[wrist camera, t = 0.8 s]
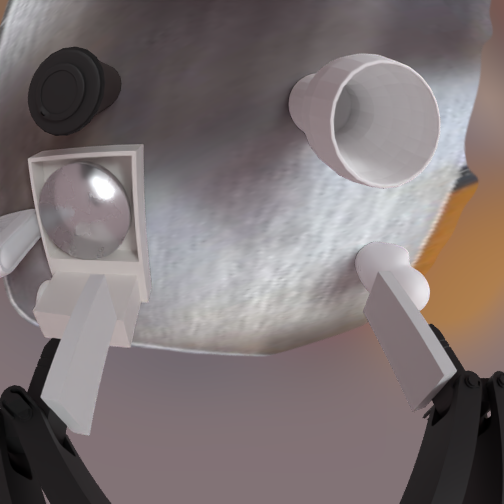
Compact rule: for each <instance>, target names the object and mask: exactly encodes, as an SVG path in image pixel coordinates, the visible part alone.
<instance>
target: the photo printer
mask: <svg viewBox="0 0 504 504" xmlns="http://www.w3.org/2000/svg"><path fill="white" fill-rule="evenodd" d="M40 237H41V233H40V228H39V224H38V219H37V215H36V209H28V210H23V211H18V212H14V213H10V214H7V215H4V216H1V217H0V278H1V277H4V276H6V275H8V274H10V273H11V272H12V271H13V270H14V269H15V268H16V267H17V265H18V264H19V263H20V261H21V260H22V259H23V258H24V257H25V255H26V254H27V253H28V252H29V251H30V249H31V248H32V247H33V246H34V245H35V243H36V242H37V241H38V240H39V239H40Z"/></svg>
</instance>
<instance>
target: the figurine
mask: <svg viewBox="0 0 504 504" xmlns="http://www.w3.org/2000/svg"><path fill="white" fill-rule="evenodd" d="M355 267H356V271H357V274H358V276H359V278H360V280H361V282H362V284H363V285H364V287H365V288H366V289H367V290H368V292H369V293H370V292H371V289H372V287H373V284H374V281H375V278H376V276H377V273H378V271H391V273H392V274H393V275H394V277H395V278H396V279H397V281H398V282H399V283H400V285H401V286H402V288H403V289H404V290H405V292H406V293H407V294H408V296H409V297H410V299H411V300H412V302H413V303H414V304H415V306H416V307H417V309H418V310H419V311H420V310H421V309H423V308H424V306H425V305H426V304H427V302H428V299H429V294H430V289H429V285H428V283H427V280H426V279H425V277H424V276H423V275H422V274H421V273H420V272H419V271H417V270H415V269H414V268H412V267H411V266H410V263H409V253H408V251H407V249H405V248H404V247H402V246H399V245H396V244H392V243H383V242H378V241H376V242H371V243H369V244H367V245H365V246H364V247H363V248H362V249H361V250H360V251H359V252H358V254H357V256H356V259H355Z"/></svg>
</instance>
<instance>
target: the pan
mask: <svg viewBox="0 0 504 504" xmlns="http://www.w3.org/2000/svg"><path fill="white" fill-rule="evenodd" d="M39 211H40V217H41V221H42V224H43V226H44V228H45V230H46V232H47V234H48V235H49V237H50V238H51V239H52V241H53V242H54V243H55V244H56V245H57V246H58V247H59V248H61V249H62V250H63V251H65V252H66V253H68V254H70V255H72V256H75V257H77V258H82V259H100V258H103V257H106V256H108V255H110V254H111V253H113V252H114V251H115V250H117V249H118V248H119V246H120V245H121V244H122V242H123V241H124V239H125V237H126V235H127V233H128V230H129V227H130V224H131V205H130V201H129V197H128V195H127V192H126V190H125V188H124V187H123V185H122V184H121V182H120V181H119V179H118V178H117V177H116V176H115V175H114V174H113V173H112V172H110V171H109V170H108V169H106V168H105V167H103V166H101V165H99V164H96V163H93V162H88V161H76V162H71V163H68V164H66V165H64V166H62V167H61V168H59V169H58V170H56V171H55V172H53V173H52V174H51V175H50V176H49V178H48V179H47V180H46V182H45V184H44V185H43V188H42V190H41V194H40V199H39Z"/></svg>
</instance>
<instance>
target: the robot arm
mask: <svg viewBox="0 0 504 504" xmlns="http://www.w3.org/2000/svg"><path fill="white" fill-rule="evenodd" d="M363 312H364V314H365V316H366V318H367V320H368V322H369V323H370V325H371V327H372V329H373V331H374V333H375V335H376V337H377V339H378V341H379V343H380V345H381V347H382V349H383V351H384V353H385V355H386V357H387V359H388V361H389V363H390V365H391V367H392V369H393V371H394V373H395V375H396V377H397V379H398V382H399V384H400V386H401V388H402V390H403V392H404V394H405V396H406V399H407V401H408V403H409V405H410V407H411V410H412V411H416V410H419V409H422V408H424V407H426V406H427V404H429V402H430V401H431V400H432V401H433V403H434V405H433V406H432V407H431V408H430V409H429V410H428V411H427V412H426V413H425V414H424V416H423V418H426V417H427V416H428V415H429V414H430V415H429V418H428V423H427V427H426V431H425V434H424V437H423V441H422V444H421V447H420V451H419V454H418V457H417V460H416V463H415V466H414V468H413V471H412V474H411V477H410V479H409V482H408V484H407V487H406V490H405V492H404V495H403V497H402V499H401V501H400V504H504V373H503V372H501V371H497V372H495V373H494V374H493V375H492V376H491V377H490V378H479V377H478V375H477V374H476V373H474V372H472V371H465V370H464V368H463V366H462V365H461V363H460V362H459V360H458V358H457V357H456V355H455V353H454V352H453V350H452V349H451V347H449V344H448V342H447V341H445V338H444V336H443V335H442V333H441V332H440V331H439V330H438V329H437V328H436V327H435V326H434V325H433V324H427V322H426V321H425V319H424V318H423V316H422V315H421V313H420V312H419V310H418V309H417V307H416V306H415V304H414V303H413V302H412V300H411V299H410V297H409V296H408V294H407V293H406V292H405V290H404V289H403V288H402V286H401V285H400V283H399V282H398V281H397V279H396V278H395V277H394V275H393V274H392V273H391V271H378V273H377V276H376V278H375V281H374V284H373V287H372V289H371V292H370V295H369V297H368V300H367V302H366V305H365V307H364V310H363ZM116 320H117V315H116V312H115V309H114V305H113V302H112V299H111V295H110V292H109V288H108V285H107V281H106V277H105V275H98V274H90V276H89V278H88V280H87V282H86V284H85V286H84V288H83V290H82V293H81V295H80V297H79V299H78V301H77V303H76V306H75V308H74V310H73V312H72V314H71V317H70V319H69V321H68V324H67V326H66V328H65V331H64V333H63V336H62V338H61V339H58V338H52V339H51V340H50V341H49V342H48V343H47V344H46V345H45V347H44V349H43V352H42V354H41V359H39V361H38V364H37V367H36V369H35V372H34V375H33V377H32V380H31V383H30V386H29V389H28V392H26V391H25V389H23V388H22V387H20V386H16V385H14V386H11V387H8V388H7V389H6V390H4V392H3V393H2V395H1V398H0V408H1V409H0V504H46V502H45V499H44V496H43V492H42V490H43V491H44V493H45V495H46V497H47V499H48V500H49V502H50V504H111V503H110V501H109V500H108V499H107V498H106V496H105V495H104V493H103V492H102V490H101V489H100V488H99V486H98V485H97V483H96V482H95V480H94V479H93V477H92V476H91V474H90V473H89V471H88V470H87V468H86V467H85V465H84V463H83V462H82V460H81V459H80V457H79V455H78V453H77V452H76V450H75V448H74V446H73V445H72V443H71V441H70V439H69V438H68V436H67V435H66V428H67V427H68V428H69V429H70V430H71V431H72V432H74V433H79V434H85V435H90V430H91V424H92V419H93V414H94V408H95V404H96V398H97V394H98V390H99V385H100V381H101V376H102V372H103V368H104V364H105V360H106V356H107V352H108V349H109V345H110V341H111V338H112V334H113V331H114V327H115V324H116ZM490 410H491V416H490V417H489V418H488V417H487V413H488V412H489V411H490ZM41 488H42V489H41Z"/></svg>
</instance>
